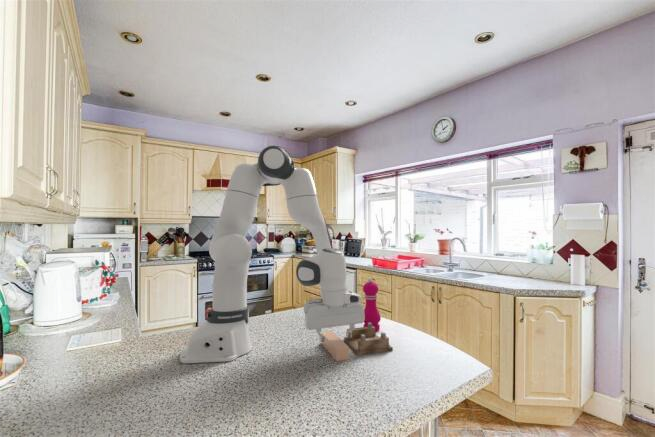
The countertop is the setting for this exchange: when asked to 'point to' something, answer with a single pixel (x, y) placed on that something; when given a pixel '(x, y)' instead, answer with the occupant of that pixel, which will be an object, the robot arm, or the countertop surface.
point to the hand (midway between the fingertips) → (335, 339)
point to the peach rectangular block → (335, 346)
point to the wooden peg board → (368, 341)
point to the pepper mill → (371, 305)
